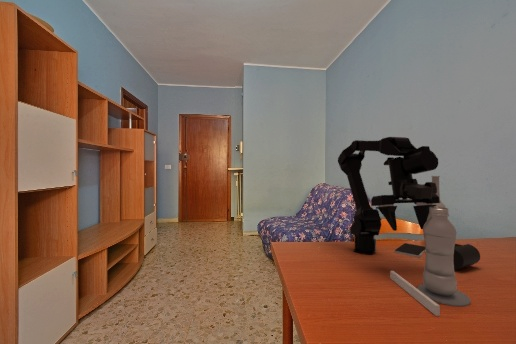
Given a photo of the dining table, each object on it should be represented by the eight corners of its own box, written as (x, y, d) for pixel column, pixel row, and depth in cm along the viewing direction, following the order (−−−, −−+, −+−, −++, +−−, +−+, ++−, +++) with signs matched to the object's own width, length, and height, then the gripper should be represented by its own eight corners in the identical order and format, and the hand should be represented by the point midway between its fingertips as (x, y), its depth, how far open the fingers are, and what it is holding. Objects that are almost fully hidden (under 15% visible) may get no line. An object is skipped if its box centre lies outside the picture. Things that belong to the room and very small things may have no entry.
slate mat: (416, 297, 57) (416, 295, 57) (417, 282, 65) (417, 280, 65) (473, 311, 51) (473, 309, 51) (467, 292, 59) (467, 290, 59)
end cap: (463, 274, 70) (463, 250, 70) (436, 266, 77) (436, 244, 77) (480, 268, 75) (480, 246, 75) (453, 261, 81) (453, 240, 81)
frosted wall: (439, 315, 49) (439, 305, 49) (435, 315, 49) (435, 305, 49) (393, 278, 67) (393, 270, 67) (390, 278, 67) (390, 270, 67)
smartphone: (428, 247, 95) (419, 255, 84) (428, 250, 95) (419, 259, 84) (404, 242, 101) (393, 250, 90) (404, 245, 101) (393, 253, 90)
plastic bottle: (439, 285, 62) (438, 206, 62) (465, 299, 55) (464, 209, 56) (416, 287, 61) (415, 206, 61) (439, 300, 54) (438, 209, 55)
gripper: (392, 172, 65) (400, 232, 62) (452, 171, 68) (463, 229, 65) (367, 179, 76) (373, 230, 73) (420, 178, 79) (428, 228, 76)
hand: (409, 229), depth 72 cm, fingers open, 9 cm apart
